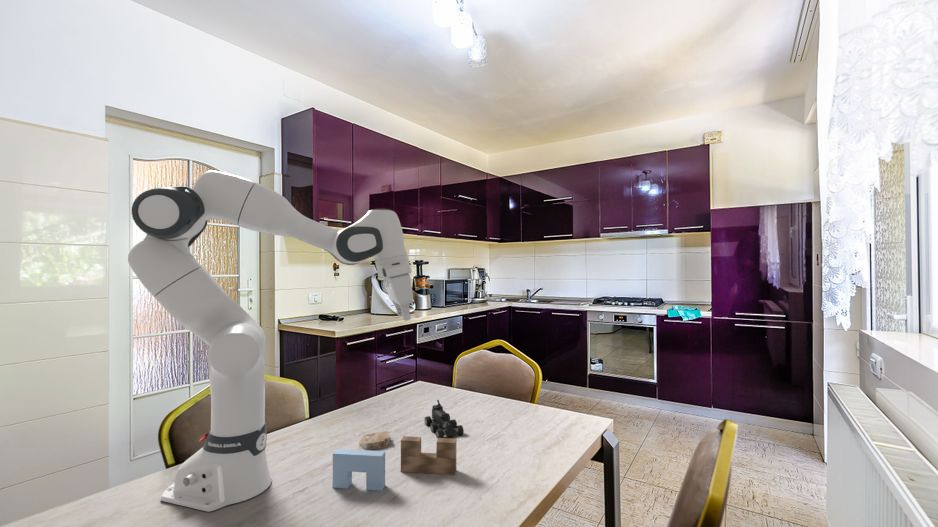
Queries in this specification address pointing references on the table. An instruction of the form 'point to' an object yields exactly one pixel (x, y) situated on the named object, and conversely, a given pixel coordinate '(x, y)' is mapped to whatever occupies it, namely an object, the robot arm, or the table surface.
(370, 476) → the blue arch block
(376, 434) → the stone
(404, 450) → the wooden u-shaped block
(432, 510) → the table surface
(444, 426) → the toy vehicle
